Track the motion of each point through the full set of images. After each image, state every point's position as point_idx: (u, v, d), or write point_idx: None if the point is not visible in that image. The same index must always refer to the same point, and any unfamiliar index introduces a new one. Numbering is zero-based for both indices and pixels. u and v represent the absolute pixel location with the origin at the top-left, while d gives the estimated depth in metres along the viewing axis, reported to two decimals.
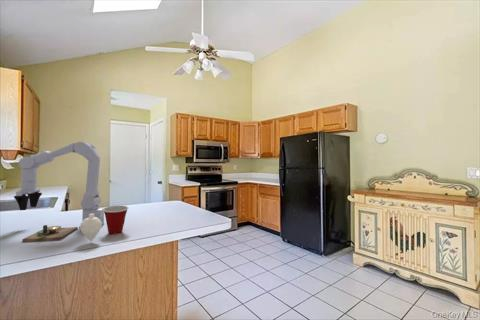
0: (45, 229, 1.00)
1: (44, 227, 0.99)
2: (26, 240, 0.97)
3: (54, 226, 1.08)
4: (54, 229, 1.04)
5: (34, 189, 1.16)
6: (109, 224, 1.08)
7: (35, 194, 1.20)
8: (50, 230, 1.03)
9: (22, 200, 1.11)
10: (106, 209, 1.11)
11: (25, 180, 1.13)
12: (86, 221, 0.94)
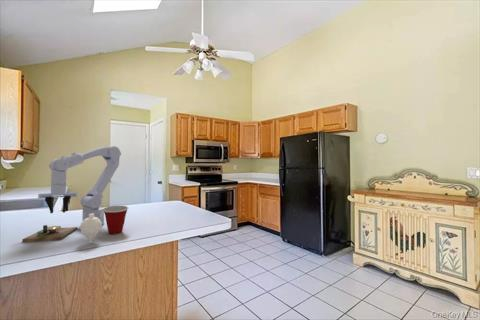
0: (45, 229, 1.00)
1: (44, 227, 0.99)
2: (26, 240, 0.97)
3: (54, 226, 1.08)
4: (54, 229, 1.04)
5: (55, 193, 1.08)
6: (109, 224, 1.08)
7: None
8: (50, 230, 1.03)
9: None
10: (106, 209, 1.11)
11: (61, 183, 1.09)
12: (86, 221, 0.94)
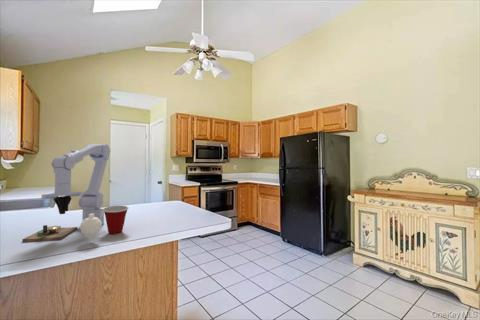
0: (45, 229, 1.00)
1: (44, 227, 0.99)
2: (26, 240, 0.97)
3: (54, 226, 1.08)
4: (54, 229, 1.04)
5: (63, 193, 1.02)
6: (109, 224, 1.08)
7: None
8: (50, 230, 1.03)
9: None
10: (106, 209, 1.11)
11: (69, 182, 1.04)
12: (86, 221, 0.94)
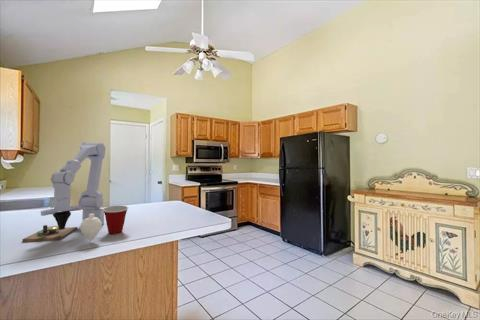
0: (45, 229, 1.00)
1: (44, 227, 0.99)
2: (26, 240, 0.97)
3: (54, 226, 1.08)
4: (54, 229, 1.04)
5: (63, 208, 1.01)
6: (109, 224, 1.08)
7: None
8: (50, 230, 1.03)
9: None
10: (106, 209, 1.11)
11: (68, 197, 1.03)
12: (86, 221, 0.94)
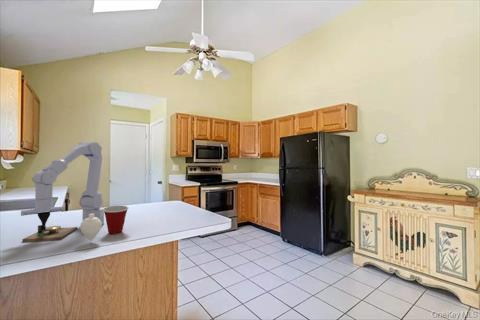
0: (39, 229, 0.99)
1: (38, 227, 0.99)
2: (26, 240, 0.97)
3: (56, 226, 1.08)
4: (51, 229, 1.03)
5: (41, 209, 0.99)
6: (109, 224, 1.08)
7: None
8: (47, 230, 1.03)
9: None
10: (106, 209, 1.11)
11: (48, 197, 1.00)
12: (86, 221, 0.94)
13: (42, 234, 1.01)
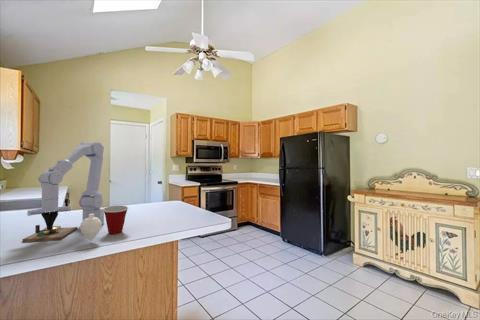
0: (36, 229, 1.00)
1: (35, 227, 1.00)
2: (26, 240, 0.97)
3: (56, 226, 1.08)
4: (49, 230, 1.03)
5: (49, 208, 0.99)
6: (109, 224, 1.08)
7: (50, 215, 1.01)
8: (46, 230, 1.03)
9: None
10: (106, 209, 1.11)
11: (55, 197, 1.01)
12: (86, 221, 0.94)
13: (42, 234, 1.01)
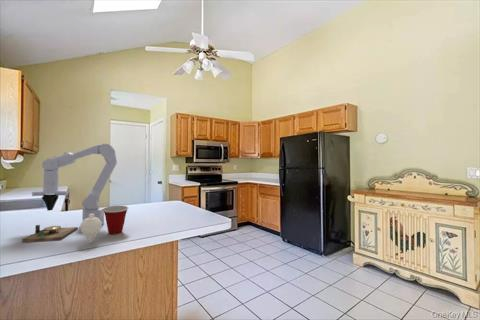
0: (36, 229, 0.99)
1: (36, 227, 1.00)
2: (26, 240, 0.97)
3: (56, 226, 1.08)
4: (49, 230, 1.03)
5: (45, 191, 1.13)
6: (109, 224, 1.08)
7: None
8: (46, 230, 1.03)
9: None
10: (106, 209, 1.11)
11: (48, 182, 1.13)
12: (86, 221, 0.94)
13: (42, 234, 1.01)
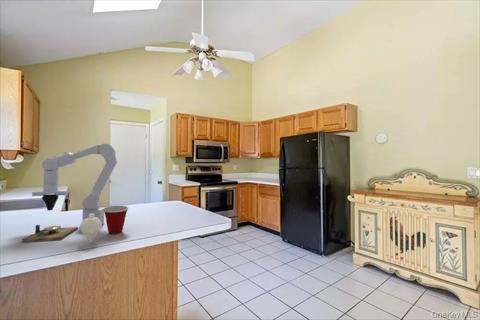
0: (36, 229, 0.99)
1: (36, 227, 1.00)
2: (26, 240, 0.97)
3: (56, 226, 1.08)
4: (49, 230, 1.03)
5: (45, 191, 1.13)
6: (109, 224, 1.08)
7: None
8: (46, 230, 1.03)
9: None
10: (106, 209, 1.11)
11: (48, 182, 1.13)
12: (86, 221, 0.94)
13: (42, 234, 1.01)
